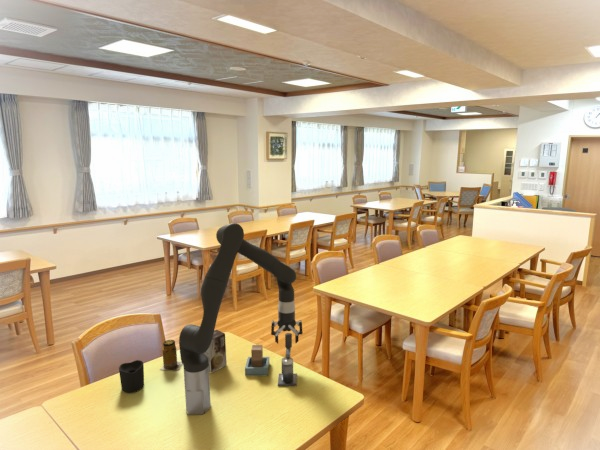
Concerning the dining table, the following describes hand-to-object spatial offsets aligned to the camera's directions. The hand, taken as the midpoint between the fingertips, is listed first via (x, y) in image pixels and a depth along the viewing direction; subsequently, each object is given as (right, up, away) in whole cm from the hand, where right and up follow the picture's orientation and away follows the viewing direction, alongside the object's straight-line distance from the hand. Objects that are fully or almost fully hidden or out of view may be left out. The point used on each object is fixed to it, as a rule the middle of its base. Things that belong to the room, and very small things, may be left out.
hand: (286, 342), depth 179 cm
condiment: (-53, -12, +2) cm, 55 cm away
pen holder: (-64, -15, -14) cm, 68 cm away
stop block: (-13, -11, -1) cm, 18 cm away
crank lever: (+1, -4, -6) cm, 7 cm away
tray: (-13, -12, -1) cm, 18 cm away
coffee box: (-33, -12, +1) cm, 35 cm away
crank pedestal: (+1, -12, -2) cm, 12 cm away
